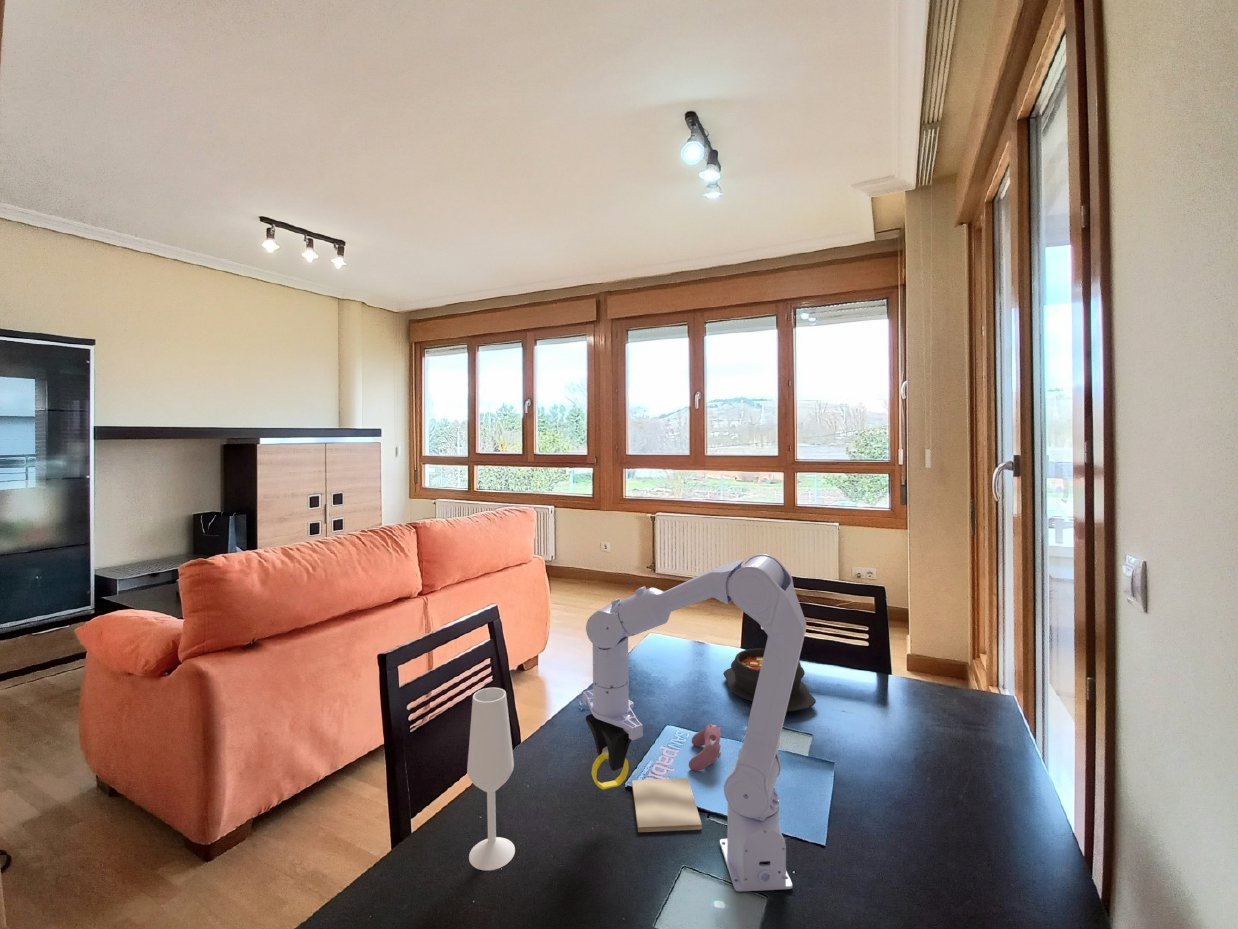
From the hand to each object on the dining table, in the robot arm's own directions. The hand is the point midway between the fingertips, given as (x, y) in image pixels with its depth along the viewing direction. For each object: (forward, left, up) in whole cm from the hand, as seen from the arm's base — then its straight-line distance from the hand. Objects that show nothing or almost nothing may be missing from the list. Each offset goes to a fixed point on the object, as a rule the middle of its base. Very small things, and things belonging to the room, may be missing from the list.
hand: (611, 763), depth 91 cm
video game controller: (+15, -19, -9) cm, 26 cm away
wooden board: (+2, -9, -9) cm, 13 cm away
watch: (0, 0, -4) cm, 4 cm away
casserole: (+41, -39, -9) cm, 57 cm away
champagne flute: (-7, +18, -9) cm, 21 cm away
